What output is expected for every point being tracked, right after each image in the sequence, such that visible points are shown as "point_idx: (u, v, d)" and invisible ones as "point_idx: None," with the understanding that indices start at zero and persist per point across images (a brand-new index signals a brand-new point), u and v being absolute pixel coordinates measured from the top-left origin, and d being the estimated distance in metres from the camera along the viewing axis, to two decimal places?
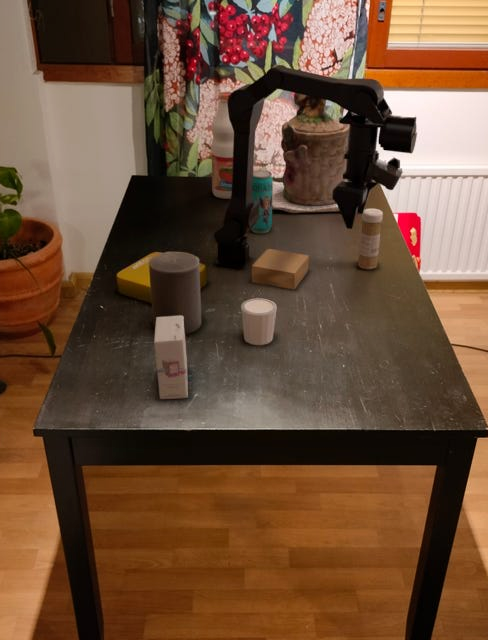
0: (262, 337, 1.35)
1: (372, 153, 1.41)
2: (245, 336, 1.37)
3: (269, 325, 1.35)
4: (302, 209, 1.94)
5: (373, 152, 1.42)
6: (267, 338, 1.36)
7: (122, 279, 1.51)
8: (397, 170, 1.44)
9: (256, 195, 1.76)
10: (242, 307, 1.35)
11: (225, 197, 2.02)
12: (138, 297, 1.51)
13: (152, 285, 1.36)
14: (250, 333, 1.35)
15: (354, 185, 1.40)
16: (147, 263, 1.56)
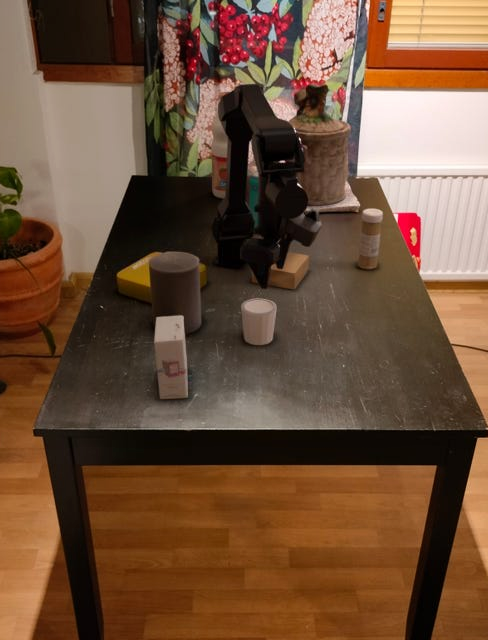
0: (262, 337, 1.35)
1: None
2: (245, 336, 1.37)
3: (269, 325, 1.35)
4: None
5: None
6: (267, 338, 1.36)
7: (122, 279, 1.51)
8: (315, 224, 1.27)
9: (256, 195, 1.76)
10: (242, 307, 1.35)
11: None
12: (138, 297, 1.51)
13: (152, 285, 1.36)
14: (250, 333, 1.35)
15: (264, 242, 1.24)
16: (147, 263, 1.56)
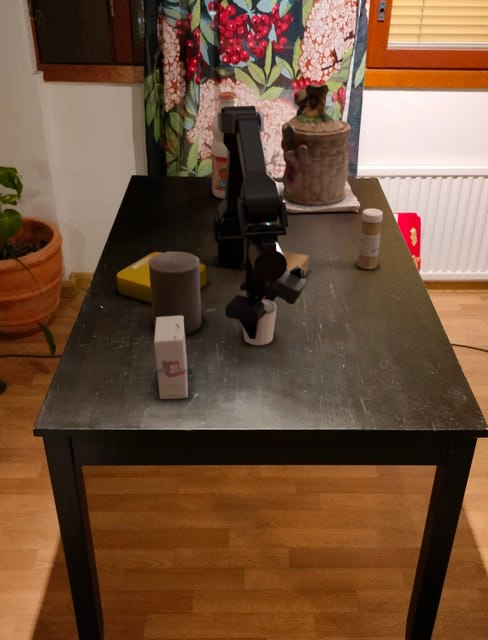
0: (262, 337, 1.35)
1: None
2: (245, 336, 1.37)
3: (269, 325, 1.35)
4: (302, 209, 1.94)
5: None
6: (267, 338, 1.36)
7: (122, 279, 1.51)
8: (299, 282, 1.30)
9: None
10: None
11: None
12: (138, 297, 1.51)
13: (152, 285, 1.36)
14: None
15: (248, 301, 1.27)
16: (147, 263, 1.56)
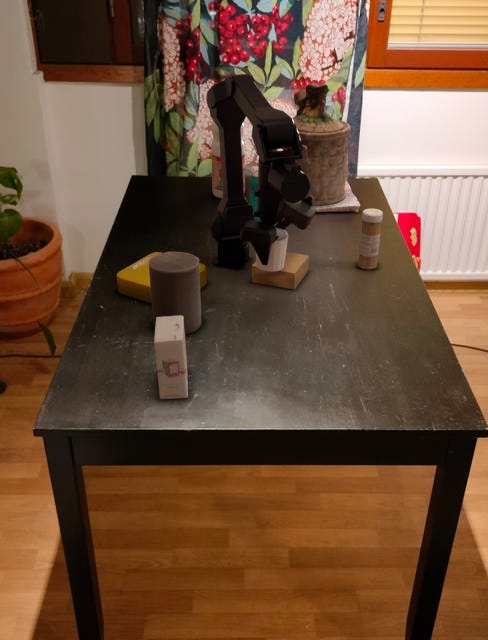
0: (274, 263, 1.42)
1: None
2: (258, 263, 1.43)
3: (281, 252, 1.41)
4: None
5: None
6: (279, 265, 1.43)
7: (122, 279, 1.51)
8: (310, 209, 1.37)
9: None
10: None
11: None
12: (138, 297, 1.51)
13: (152, 285, 1.36)
14: None
15: (262, 225, 1.33)
16: (147, 263, 1.56)
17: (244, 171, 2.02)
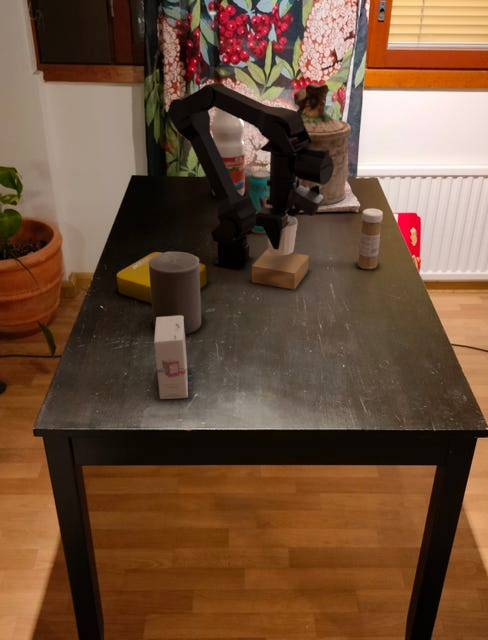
0: (285, 247, 1.55)
1: (293, 180, 1.47)
2: (270, 247, 1.56)
3: (291, 237, 1.54)
4: None
5: (294, 179, 1.47)
6: (289, 249, 1.55)
7: (122, 279, 1.51)
8: (318, 196, 1.49)
9: (256, 195, 1.76)
10: None
11: None
12: (138, 297, 1.51)
13: (152, 285, 1.36)
14: None
15: (274, 211, 1.46)
16: (147, 263, 1.56)
17: (244, 171, 2.02)
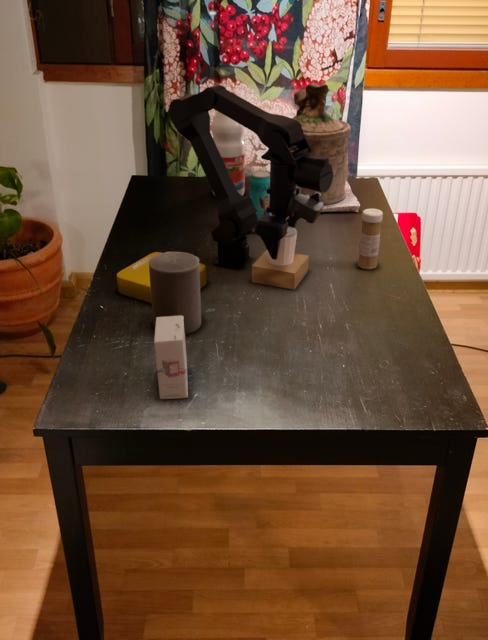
0: (284, 258, 1.56)
1: (292, 188, 1.48)
2: (269, 258, 1.57)
3: (290, 247, 1.55)
4: None
5: (294, 187, 1.48)
6: (288, 259, 1.57)
7: (122, 279, 1.51)
8: (318, 204, 1.50)
9: (256, 195, 1.76)
10: None
11: None
12: (138, 297, 1.51)
13: (152, 285, 1.36)
14: None
15: (274, 219, 1.47)
16: (147, 263, 1.56)
17: (244, 171, 2.02)
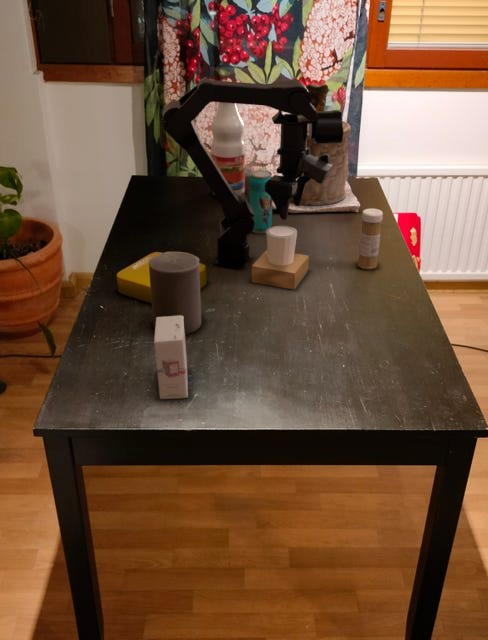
0: (284, 258, 1.56)
1: (302, 149, 1.52)
2: (269, 258, 1.57)
3: (290, 247, 1.55)
4: (302, 209, 1.94)
5: (303, 148, 1.52)
6: (288, 259, 1.57)
7: (122, 279, 1.51)
8: (326, 165, 1.54)
9: (256, 195, 1.76)
10: (267, 232, 1.55)
11: None
12: (138, 297, 1.51)
13: (152, 285, 1.36)
14: (273, 255, 1.56)
15: (284, 178, 1.51)
16: (147, 263, 1.56)
17: (244, 171, 2.02)
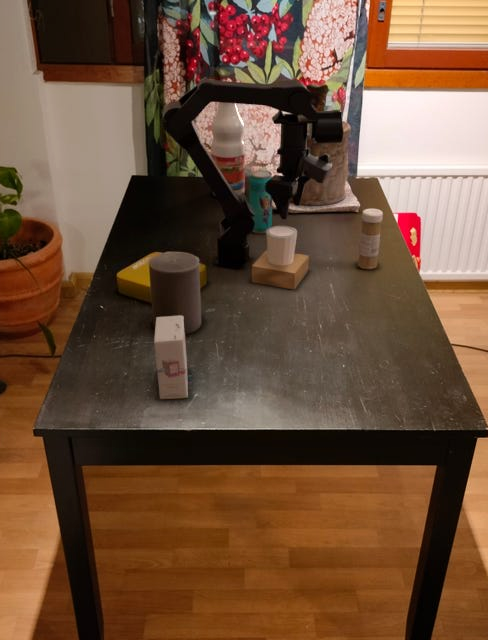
0: (284, 258, 1.56)
1: (302, 149, 1.52)
2: (269, 258, 1.57)
3: (290, 247, 1.55)
4: (302, 209, 1.94)
5: (303, 148, 1.53)
6: (288, 259, 1.57)
7: (122, 279, 1.51)
8: (326, 165, 1.55)
9: (256, 195, 1.76)
10: (267, 232, 1.55)
11: None
12: (138, 297, 1.51)
13: (152, 285, 1.36)
14: (273, 255, 1.56)
15: (285, 178, 1.51)
16: (147, 263, 1.56)
17: (244, 171, 2.02)
